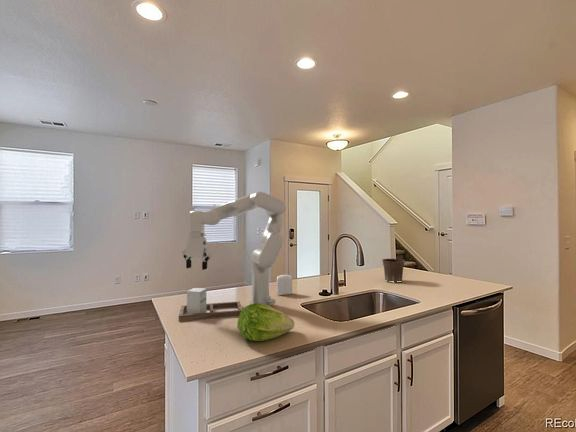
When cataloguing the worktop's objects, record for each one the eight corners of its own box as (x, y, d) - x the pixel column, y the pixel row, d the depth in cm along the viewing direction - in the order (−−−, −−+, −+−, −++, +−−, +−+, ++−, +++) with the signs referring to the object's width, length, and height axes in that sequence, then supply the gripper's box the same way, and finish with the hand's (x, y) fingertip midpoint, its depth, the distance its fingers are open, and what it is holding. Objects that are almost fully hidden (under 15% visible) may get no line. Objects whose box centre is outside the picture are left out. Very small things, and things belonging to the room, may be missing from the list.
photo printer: (277, 295, 184) (277, 276, 184) (275, 294, 188) (275, 274, 188) (293, 294, 187) (293, 275, 187) (291, 292, 191) (291, 273, 191)
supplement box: (199, 317, 146) (199, 291, 146) (186, 316, 147) (186, 291, 147) (206, 312, 153) (206, 288, 153) (193, 311, 155) (193, 287, 155)
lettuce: (279, 336, 136) (293, 355, 121) (230, 326, 125) (239, 346, 111) (291, 306, 136) (306, 322, 121) (243, 293, 126) (254, 309, 111)
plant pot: (383, 283, 217) (383, 261, 217) (380, 278, 233) (380, 258, 233) (407, 284, 214) (407, 262, 214) (402, 279, 230) (402, 258, 230)
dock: (242, 315, 149) (242, 310, 148) (178, 321, 141) (178, 316, 141) (239, 305, 164) (239, 301, 164) (181, 310, 156) (181, 305, 156)
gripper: (215, 235, 151) (215, 268, 151) (187, 234, 157) (187, 266, 157) (206, 236, 144) (206, 271, 144) (177, 235, 149) (177, 268, 150)
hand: (196, 268), depth 150 cm, fingers open, 9 cm apart
